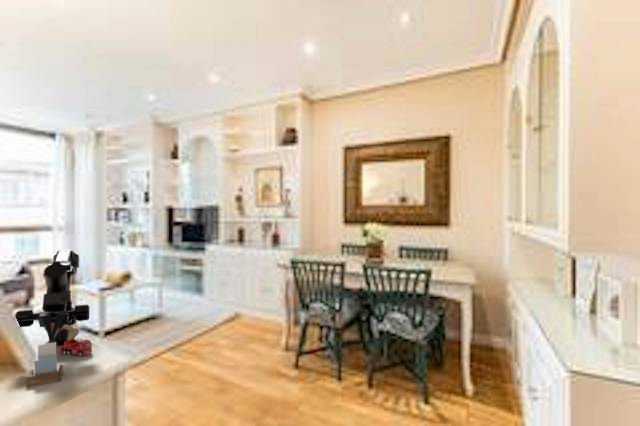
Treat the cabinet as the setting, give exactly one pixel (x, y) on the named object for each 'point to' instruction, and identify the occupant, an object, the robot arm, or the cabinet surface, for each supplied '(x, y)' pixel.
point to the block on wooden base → (46, 358)
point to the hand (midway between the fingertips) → (51, 340)
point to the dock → (43, 377)
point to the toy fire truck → (75, 343)
